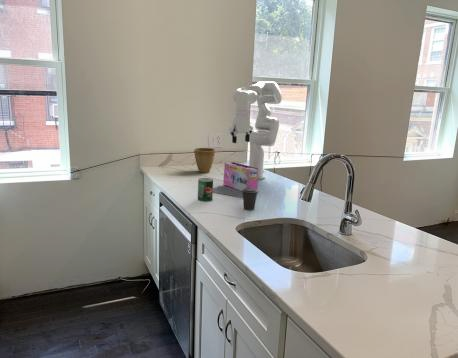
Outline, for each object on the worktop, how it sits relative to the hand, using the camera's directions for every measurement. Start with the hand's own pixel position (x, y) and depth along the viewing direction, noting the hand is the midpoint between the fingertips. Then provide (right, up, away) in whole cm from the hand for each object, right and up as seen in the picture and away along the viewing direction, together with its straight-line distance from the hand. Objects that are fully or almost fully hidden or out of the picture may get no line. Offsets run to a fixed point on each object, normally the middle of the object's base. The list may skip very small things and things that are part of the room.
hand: (240, 142), depth 225 cm
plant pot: (-25, -17, +45) cm, 54 cm away
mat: (-6, -29, -6) cm, 30 cm away
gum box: (-1, -27, +3) cm, 27 cm away
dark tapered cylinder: (+3, -37, -35) cm, 51 cm away
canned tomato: (-20, -33, -23) cm, 45 cm away
